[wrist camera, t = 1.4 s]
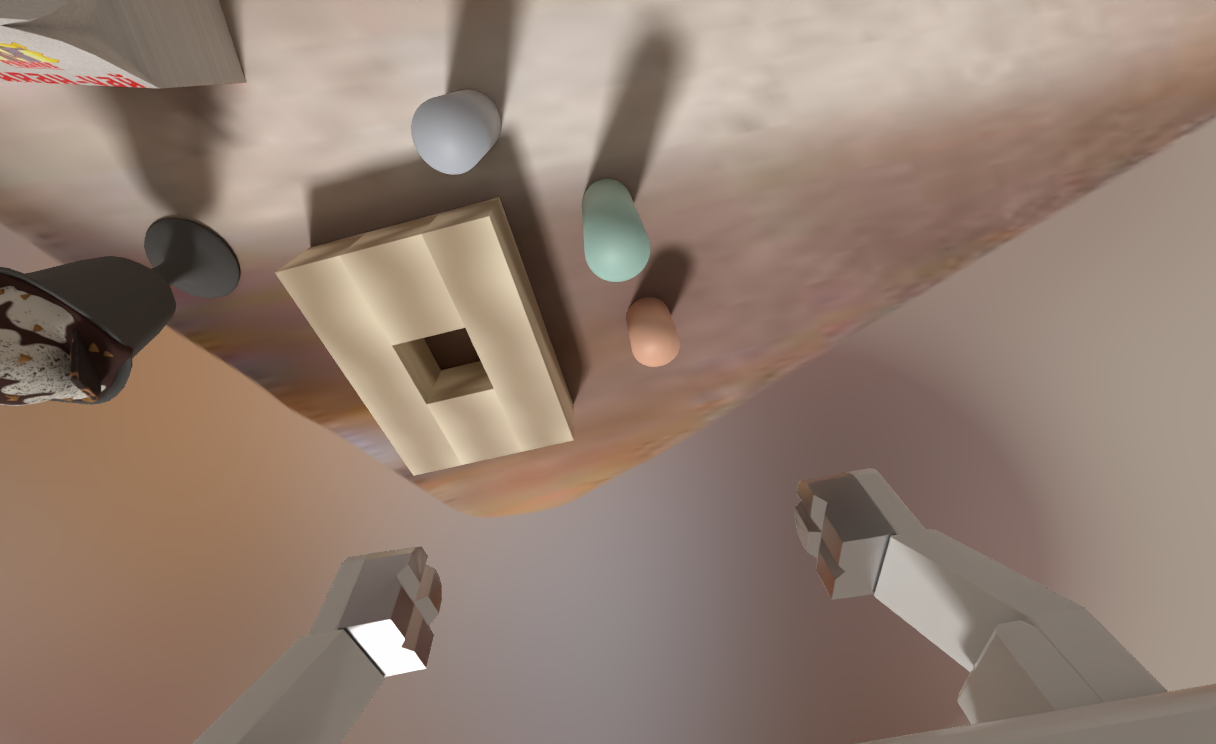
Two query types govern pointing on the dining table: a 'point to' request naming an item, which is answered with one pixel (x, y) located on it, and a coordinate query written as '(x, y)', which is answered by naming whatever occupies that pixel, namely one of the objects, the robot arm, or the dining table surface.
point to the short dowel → (652, 332)
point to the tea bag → (117, 43)
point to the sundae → (101, 314)
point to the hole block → (429, 305)
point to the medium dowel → (455, 130)
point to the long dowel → (613, 232)
